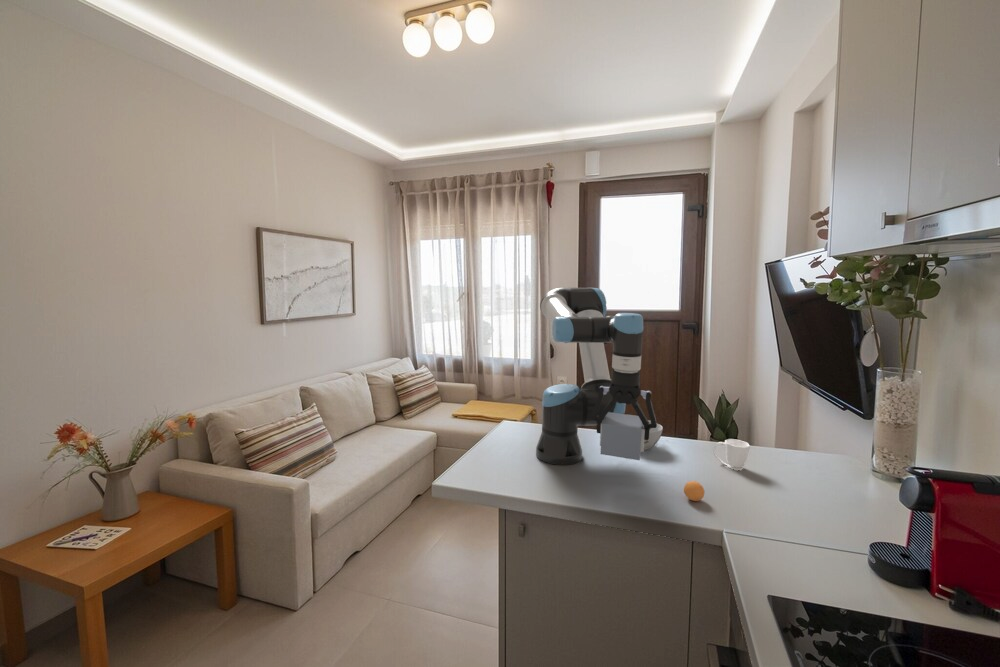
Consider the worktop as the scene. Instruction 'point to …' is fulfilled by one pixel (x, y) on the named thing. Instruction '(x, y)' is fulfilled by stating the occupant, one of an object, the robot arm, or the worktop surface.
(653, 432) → the teacup
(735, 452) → the cup
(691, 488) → the ball
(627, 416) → the matte grey cuboid
